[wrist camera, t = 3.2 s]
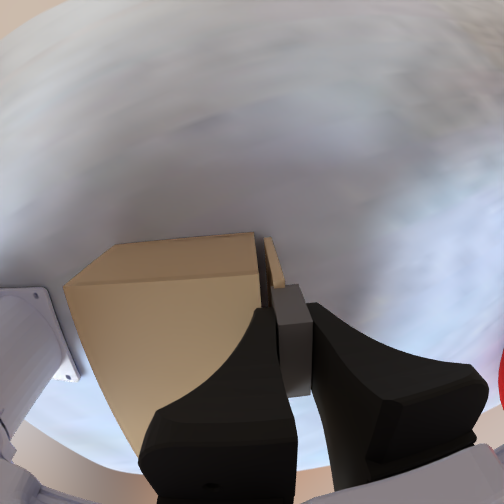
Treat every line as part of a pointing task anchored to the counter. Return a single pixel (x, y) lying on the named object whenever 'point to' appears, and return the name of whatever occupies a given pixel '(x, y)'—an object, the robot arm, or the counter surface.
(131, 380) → the carton
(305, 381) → the carton flap
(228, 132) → the counter surface
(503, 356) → the tomato
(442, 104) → the counter surface
